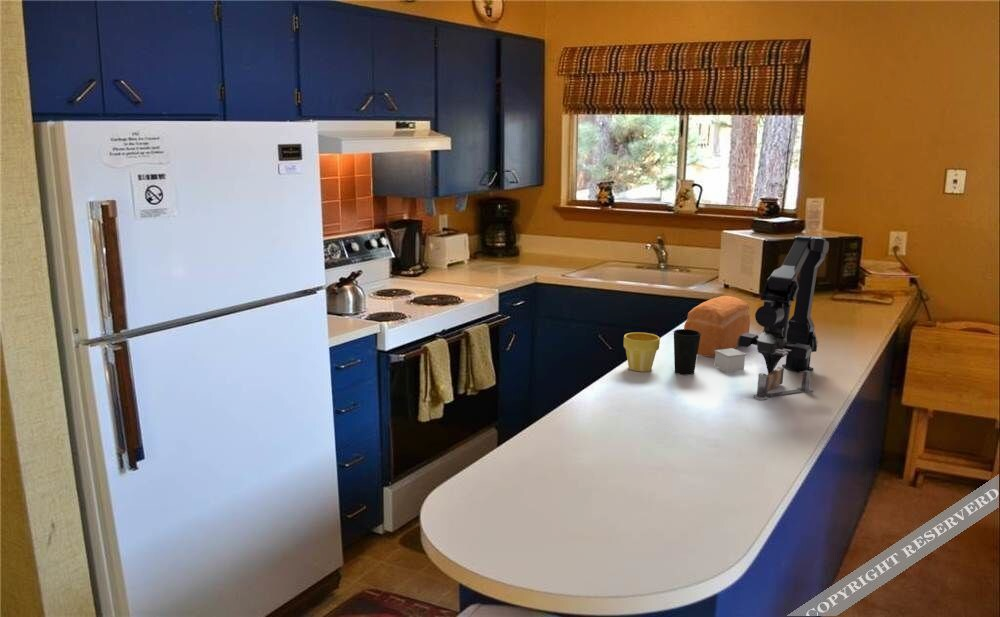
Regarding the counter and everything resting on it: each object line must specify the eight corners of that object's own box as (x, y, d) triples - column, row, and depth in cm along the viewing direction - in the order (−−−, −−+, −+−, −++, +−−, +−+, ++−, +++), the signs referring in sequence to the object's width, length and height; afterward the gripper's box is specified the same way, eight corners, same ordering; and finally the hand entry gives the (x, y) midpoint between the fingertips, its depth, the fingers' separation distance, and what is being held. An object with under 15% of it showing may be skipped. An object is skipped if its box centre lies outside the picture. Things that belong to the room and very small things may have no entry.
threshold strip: (796, 390, 225) (797, 389, 225) (802, 392, 223) (802, 391, 223) (762, 395, 220) (762, 394, 219) (767, 398, 218) (767, 397, 218)
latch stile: (804, 387, 227) (806, 369, 225) (813, 391, 224) (815, 372, 223) (796, 389, 225) (798, 370, 224) (804, 392, 223) (806, 373, 221)
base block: (730, 364, 248) (732, 348, 247) (744, 370, 242) (746, 353, 241) (713, 366, 245) (714, 350, 244) (727, 372, 240) (728, 356, 239)
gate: (765, 395, 219) (766, 378, 217) (759, 394, 219) (761, 377, 218) (782, 383, 229) (784, 367, 228) (777, 382, 229) (778, 366, 228)
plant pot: (636, 361, 249) (638, 330, 246) (664, 368, 242) (666, 336, 239) (615, 367, 242) (616, 335, 239) (643, 376, 234) (646, 343, 232)
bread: (678, 351, 260) (682, 303, 256) (711, 335, 280) (714, 290, 277) (720, 359, 252) (724, 310, 248) (750, 342, 272) (754, 295, 269)
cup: (698, 377, 234) (701, 336, 232) (670, 375, 236) (673, 334, 233) (697, 369, 242) (700, 330, 239) (671, 367, 243) (673, 328, 240)
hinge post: (760, 394, 220) (763, 371, 219) (770, 399, 217) (772, 375, 216) (750, 396, 219) (752, 373, 217) (759, 400, 216) (762, 377, 214)
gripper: (733, 319, 221) (726, 374, 225) (803, 333, 211) (795, 390, 215) (747, 312, 230) (740, 365, 234) (815, 325, 220) (807, 380, 223)
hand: (769, 375), depth 226 cm, fingers closed
